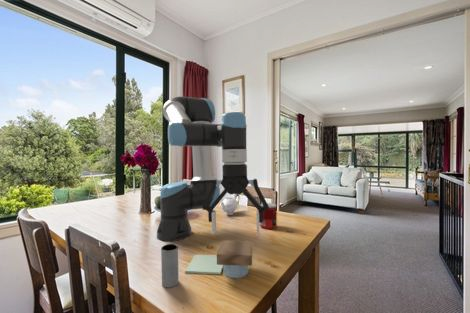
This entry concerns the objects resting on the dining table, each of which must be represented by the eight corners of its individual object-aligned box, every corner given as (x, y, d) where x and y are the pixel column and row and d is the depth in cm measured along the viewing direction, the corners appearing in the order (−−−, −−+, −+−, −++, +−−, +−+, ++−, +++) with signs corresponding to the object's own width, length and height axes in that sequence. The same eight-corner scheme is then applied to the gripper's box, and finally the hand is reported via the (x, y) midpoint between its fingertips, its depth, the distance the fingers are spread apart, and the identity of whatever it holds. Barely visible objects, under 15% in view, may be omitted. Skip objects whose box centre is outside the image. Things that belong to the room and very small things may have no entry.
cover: (216, 264, 63) (216, 254, 63) (222, 249, 73) (222, 240, 73) (251, 265, 62) (251, 255, 62) (252, 250, 72) (252, 241, 72)
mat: (185, 272, 67) (185, 270, 67) (195, 256, 78) (195, 254, 78) (220, 274, 66) (220, 272, 66) (225, 257, 77) (225, 255, 77)
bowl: (221, 277, 64) (221, 262, 64) (225, 264, 72) (225, 251, 72) (247, 279, 64) (247, 263, 64) (248, 265, 71) (248, 251, 71)
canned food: (276, 230, 104) (276, 207, 104) (259, 229, 105) (259, 206, 105) (276, 224, 111) (276, 203, 111) (261, 224, 113) (260, 202, 113)
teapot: (213, 216, 128) (213, 200, 128) (233, 209, 144) (233, 195, 144) (226, 219, 123) (225, 202, 122) (245, 211, 139) (245, 196, 139)
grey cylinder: (158, 286, 61) (157, 249, 61) (168, 277, 65) (168, 242, 65) (171, 289, 59) (171, 251, 59) (181, 280, 64) (181, 244, 63)
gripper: (191, 164, 65) (192, 236, 65) (276, 163, 62) (278, 237, 62) (198, 163, 72) (199, 228, 72) (274, 162, 70) (276, 229, 70)
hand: (235, 232), depth 67 cm, fingers open, 13 cm apart
